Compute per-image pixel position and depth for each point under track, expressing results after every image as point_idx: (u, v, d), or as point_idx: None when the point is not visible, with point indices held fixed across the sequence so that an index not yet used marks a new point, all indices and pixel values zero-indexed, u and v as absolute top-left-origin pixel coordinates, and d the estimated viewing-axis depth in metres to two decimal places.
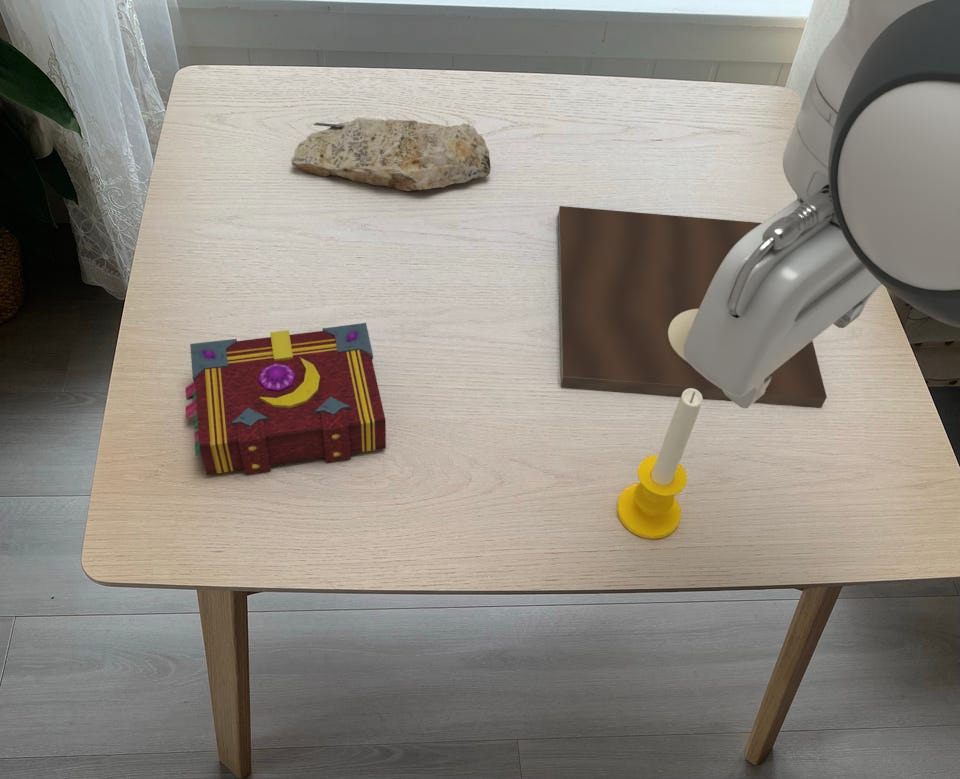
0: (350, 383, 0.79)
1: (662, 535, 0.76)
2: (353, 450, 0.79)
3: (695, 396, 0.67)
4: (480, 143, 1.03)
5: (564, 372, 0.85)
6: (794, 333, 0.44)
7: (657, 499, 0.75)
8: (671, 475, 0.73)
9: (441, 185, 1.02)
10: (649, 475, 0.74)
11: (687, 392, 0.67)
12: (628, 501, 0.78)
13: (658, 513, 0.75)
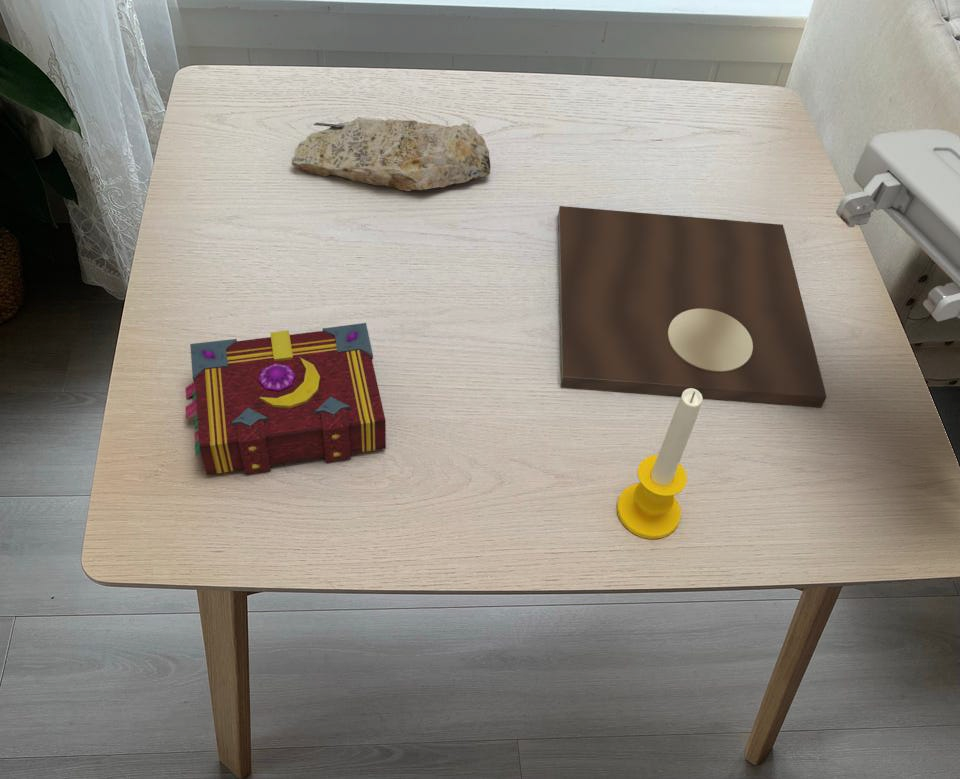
0: (350, 383, 0.79)
1: (662, 535, 0.76)
2: (353, 450, 0.79)
3: (695, 396, 0.67)
4: (480, 143, 1.03)
5: (564, 372, 0.85)
6: (926, 156, 0.67)
7: (657, 499, 0.75)
8: (671, 475, 0.73)
9: (441, 185, 1.02)
10: (649, 475, 0.74)
11: (687, 392, 0.67)
12: (628, 501, 0.78)
13: (658, 513, 0.75)
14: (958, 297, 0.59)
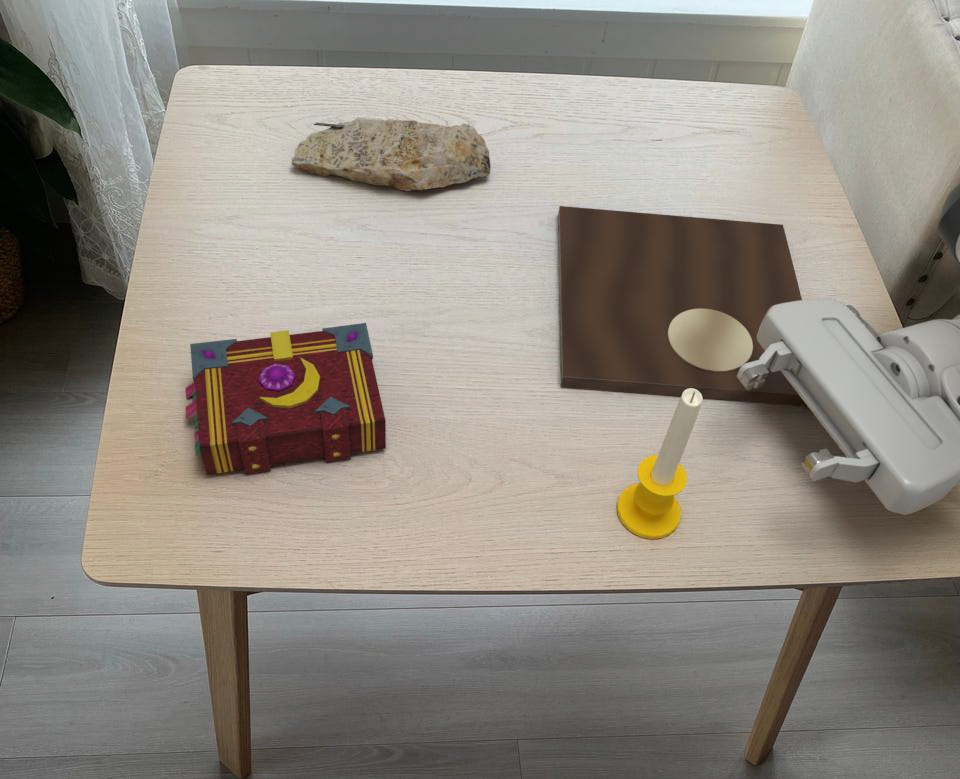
0: (350, 383, 0.79)
1: (662, 535, 0.76)
2: (353, 450, 0.79)
3: (695, 396, 0.67)
4: (480, 143, 1.03)
5: (564, 372, 0.85)
6: (814, 327, 0.79)
7: (657, 499, 0.75)
8: (671, 475, 0.73)
9: (441, 185, 1.02)
10: (649, 475, 0.74)
11: (687, 392, 0.67)
12: (628, 501, 0.78)
13: (658, 513, 0.75)
14: (828, 463, 0.71)
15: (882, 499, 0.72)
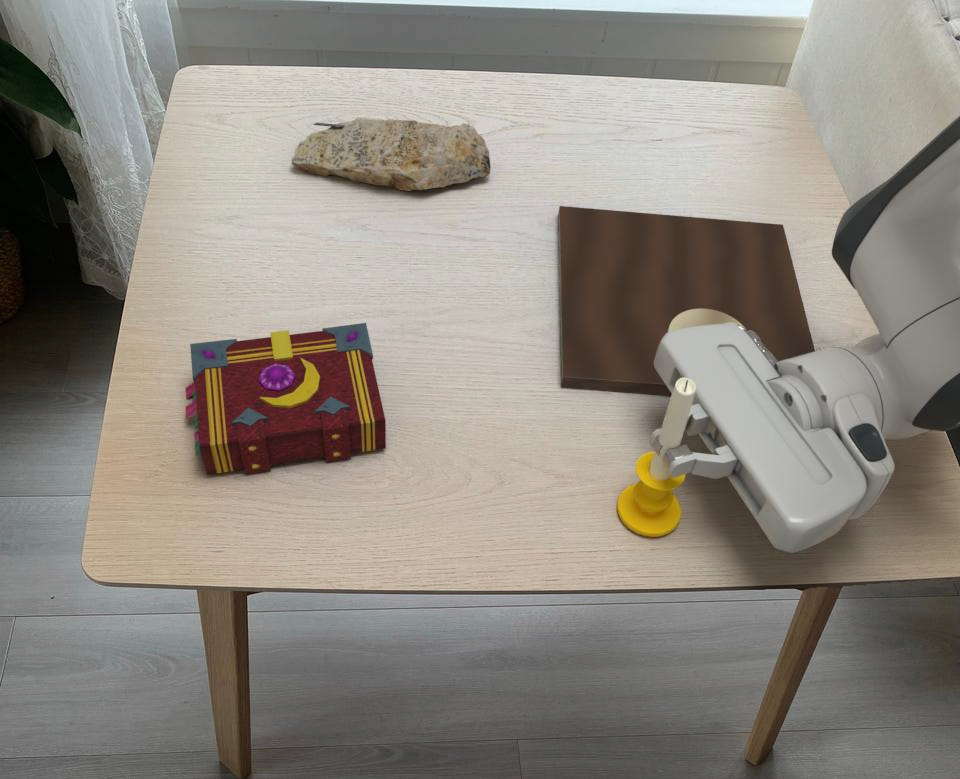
0: (350, 383, 0.79)
1: (663, 533, 0.76)
2: (353, 450, 0.79)
3: (688, 385, 0.67)
4: (480, 143, 1.03)
5: (564, 372, 0.85)
6: (709, 354, 0.76)
7: (656, 496, 0.75)
8: None
9: (441, 185, 1.02)
10: (647, 471, 0.74)
11: (680, 381, 0.67)
12: (628, 500, 0.78)
13: (658, 510, 0.75)
14: (686, 459, 0.70)
15: (769, 536, 0.69)
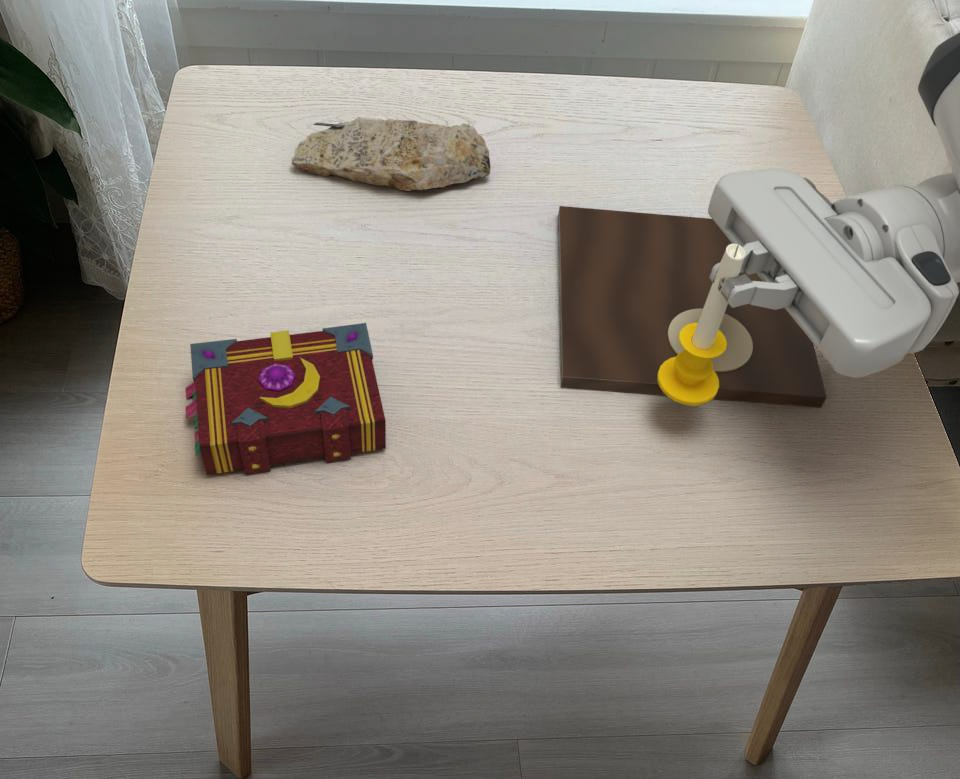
0: (350, 383, 0.79)
1: (708, 399, 0.79)
2: (353, 450, 0.79)
3: (737, 250, 0.70)
4: (480, 143, 1.03)
5: (564, 372, 0.85)
6: (766, 195, 0.75)
7: (700, 365, 0.78)
8: (714, 337, 0.76)
9: (441, 185, 1.02)
10: (691, 342, 0.77)
11: (729, 248, 0.70)
12: (668, 375, 0.81)
13: (703, 378, 0.78)
14: (746, 287, 0.70)
15: (832, 362, 0.68)
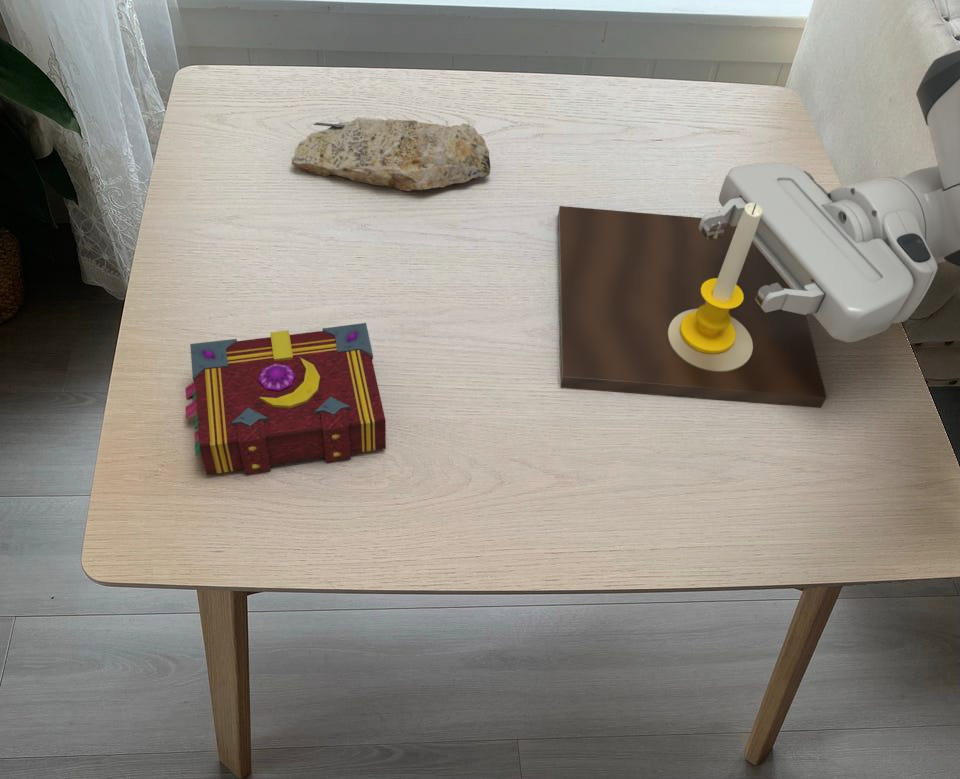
0: (350, 383, 0.79)
1: (726, 348, 0.88)
2: (353, 450, 0.79)
3: (755, 209, 0.78)
4: (480, 143, 1.03)
5: (564, 372, 0.85)
6: (770, 184, 0.86)
7: (720, 316, 0.86)
8: (732, 290, 0.84)
9: (441, 185, 1.02)
10: (711, 295, 0.85)
11: (747, 206, 0.78)
12: (689, 327, 0.89)
13: (721, 328, 0.87)
14: (779, 294, 0.78)
15: (828, 328, 0.79)
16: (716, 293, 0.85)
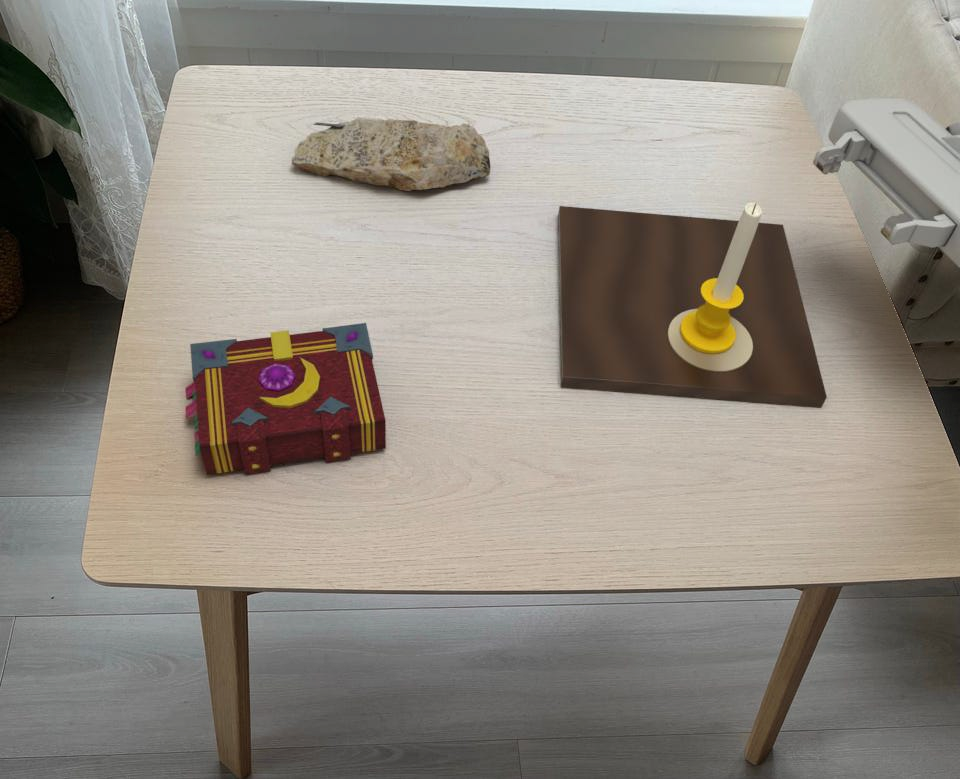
0: (350, 383, 0.79)
1: (726, 348, 0.88)
2: (353, 450, 0.79)
3: (755, 209, 0.78)
4: (480, 143, 1.03)
5: (564, 372, 0.85)
6: (886, 118, 0.82)
7: (720, 316, 0.86)
8: (732, 290, 0.84)
9: (441, 185, 1.02)
10: (711, 295, 0.85)
11: (748, 206, 0.78)
12: (689, 327, 0.89)
13: (721, 328, 0.87)
14: (908, 224, 0.74)
15: (958, 261, 0.75)
16: (716, 293, 0.85)
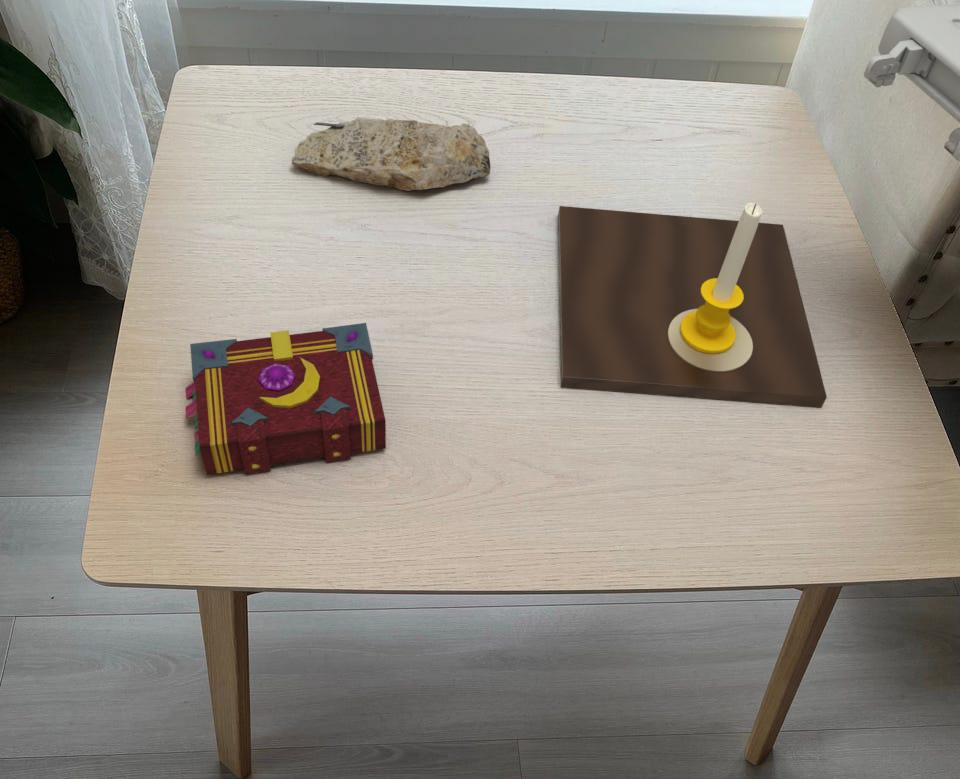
0: (350, 383, 0.79)
1: (726, 348, 0.88)
2: (353, 450, 0.79)
3: (755, 209, 0.78)
4: (480, 143, 1.03)
5: (564, 372, 0.85)
6: (945, 25, 0.73)
7: (720, 316, 0.86)
8: (732, 290, 0.84)
9: (441, 185, 1.02)
10: (711, 295, 0.85)
11: (748, 206, 0.78)
12: (689, 327, 0.89)
13: (721, 328, 0.87)
14: None
15: None
16: (716, 293, 0.85)
